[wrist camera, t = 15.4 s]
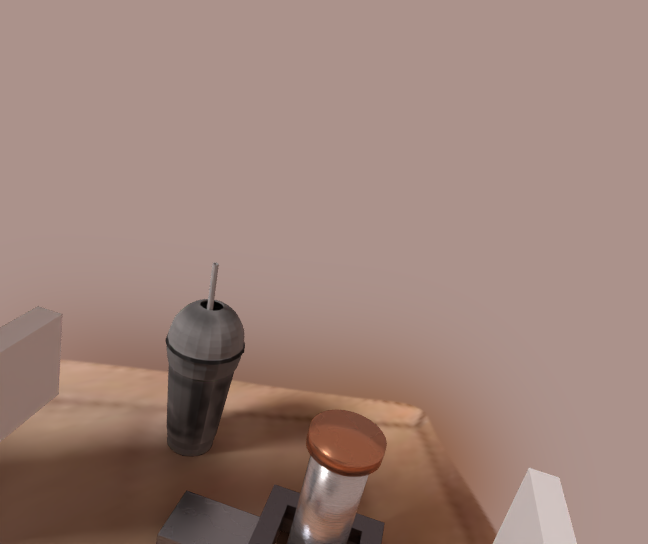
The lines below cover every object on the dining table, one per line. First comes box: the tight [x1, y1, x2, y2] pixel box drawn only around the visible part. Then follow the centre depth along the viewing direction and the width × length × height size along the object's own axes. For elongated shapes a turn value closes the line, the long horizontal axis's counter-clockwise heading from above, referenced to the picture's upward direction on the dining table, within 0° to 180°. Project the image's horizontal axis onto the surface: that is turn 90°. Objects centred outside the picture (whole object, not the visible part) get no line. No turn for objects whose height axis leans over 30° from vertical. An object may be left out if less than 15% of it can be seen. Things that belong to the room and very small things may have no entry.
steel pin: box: [287, 410, 387, 544], centre depth 41 cm, size 6×6×14 cm
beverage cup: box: [166, 263, 245, 456], centre depth 52 cm, size 7×7×20 cm
